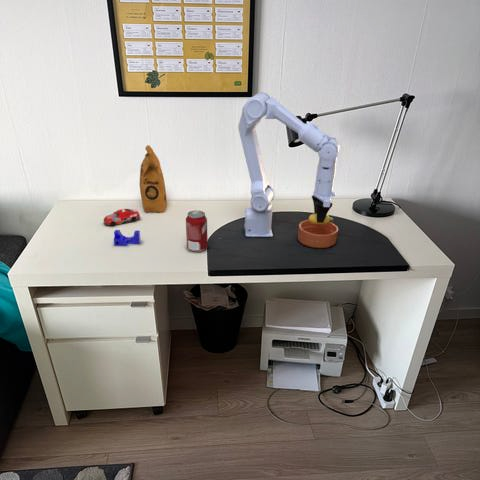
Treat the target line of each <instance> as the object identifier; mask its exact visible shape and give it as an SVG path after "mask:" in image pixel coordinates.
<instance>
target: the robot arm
mask: <svg viewBox="0 0 480 480" xmlns="http://www.w3.org/2000/svg"><path fill="white" fill-rule="evenodd" d="M262 118H265V120H278V122H280V123H282V124H283V125H285V126H286V127H287V128H289V129H291V130H292V131H293V132H295V133H296V134H297V135H298V140H299V141H300V142H301V143H303V144H304V145H305V146H307V147H308V148H309V149H311V150H312V151H313V152H315V153H317V154H318V155H317V156H318V163H317V167H316V168H317V169H316V176H315V181H314V182H315V183H314V190H313V193H312V195H311V199H312V202H313V212H314V213H313V214H317V222H318V223H323V222H324V220H325V217H326V215H328V213H329V211H330V210H331V209H332V207H333V202H332V201H331V200H332V198H333V197H336V193H335V192H334V191H333V190H334V183H335V177H336V171H337V163H338V156H339V152H340V143H339V141H338V140H337V139H336V137H333V136H331V135H330V134H329V133H327V134H326V133H325V132H323V131H322V130H321V129H319V125H318V124H317V123H314V124H313V123H311V122H308V123H305V122H303V121H302V120H301V119H300V118H298V117H297V116H296V115H295V114H293V113H292V112H291V111H290V110H289V109H288V108H286V107H285V106H284V105H283V104H282V103H280V102H279V101H278V100H277V99H276V98H274V97H273V96H270V95H269V94H268V93H266V92H262V91H261V92H258V93H256V94H254V96H252V97H249V98H248V99H247V100H246V102H245V103H244V104H243V106H242V108H241V115H240V119H239V123H238V126H237V127H238V134H239V138H240V141H241V145H242V150H243V154H244V158H245V163H246V167H247V170H248V173H249V178H250V195H251V198H250V206H251V207H246V208H245V213H244V225H243V229H244V235H245V237H247V238H249V237H250V238H273V237H274V234H273V231H272V221H273V205H272V202H273V200H274V199H275V190H274V189H273V188H272V186H271V184H270V181H269V179H268V178H267V176H266V170H265V166H264V162H263V157H262V153H261V148H260V144H259V140H258V134H257V130H256V129H257V127H258V125H259V124H260V123H261V120H262Z"/></svg>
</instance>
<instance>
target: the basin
mask: <svg viewBox="0 0 480 480" xmlns="http://www.w3.org/2000/svg"><path fill="white" fill-rule="evenodd" d="M297 227H298V230H297V235H296V236H297V237H296V238H297V240H298V241H299V242H300V243H301V244H302V245H304V246H306V247H309V248H313V249H327V248H331V247H332V246H334V245H335V244H336V243H337V237H338V232H339V228H338V226H337V225H336V224H335V223H333V222H332V221H329V222H328V223H327V224H311V223H310V222H309V219H306V220H303V221H300V222H299V224H298V226H297Z"/></svg>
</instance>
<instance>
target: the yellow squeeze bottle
mask: <svg viewBox="0 0 480 480" xmlns="http://www.w3.org/2000/svg"><path fill="white" fill-rule="evenodd" d="M308 220H309V222H310V223H311V224H327V223H328V222H333V220H334V218H333V217H331V216H330V215H328V214H327V215H326V217H325V220H324V222H323V223H318V222H317V214H314V213H312V214H310V215H309V217H308Z"/></svg>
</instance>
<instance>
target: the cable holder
mask: <svg viewBox="0 0 480 480" xmlns="http://www.w3.org/2000/svg"><path fill="white" fill-rule="evenodd" d="M113 235H114V236H113V245H114V246H115V247H128V245H141V244H142V239H141V230H134V233H133V235H132V236H126V235H124V234H122V232H121V230H120V229H115V230H114V231H113Z"/></svg>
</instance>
